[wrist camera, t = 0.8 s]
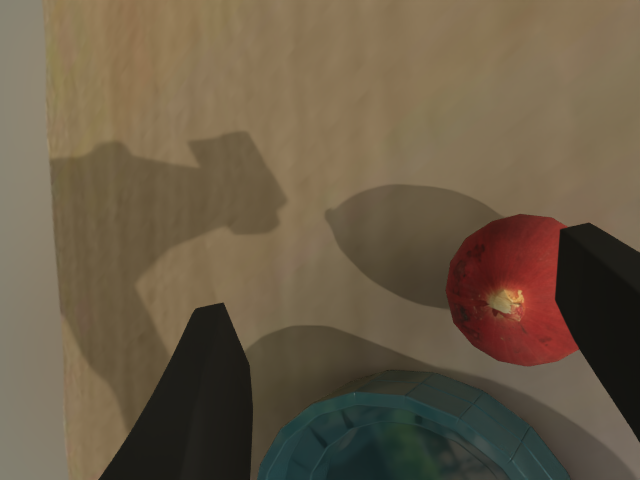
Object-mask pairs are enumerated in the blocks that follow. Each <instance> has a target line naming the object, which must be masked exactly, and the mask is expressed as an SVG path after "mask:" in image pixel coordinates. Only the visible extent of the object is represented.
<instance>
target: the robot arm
mask: <svg viewBox="0 0 640 480" xmlns="http://www.w3.org/2000/svg"><path fill="white" fill-rule="evenodd" d="M555 301H556V304H557V306H558V308H559V310H560V312H561V314H562V317H563V319H564V321H565V323H566V325H567V327H568V329H569V331H570V333H571V335H572V337H573V339H574V341H575V343H576V344H577V346H578V348H579V349H580V351H581V352H582V354H583V355H584V357H585V359H586V360H587V362H588V363H589V365H590V366H591V368H592V369H593V371H594V372H595V374H596V376H597V377H598V379H599V380H600V382H601V383H602V385H603V386H604V388H605V389H606V391H607V392H608V394H609V395H610V397H611V398H612V400H613V401H614V403H615V405H616V406H617V408H618V409H619V411H620V412H621V414H622V415H623V417H624V418H625V420H626V421H627V423H628V424H629V426H630V427H631V429H632V430H633V432H634V434H635V435H636V437H637V439H638V441H639V442H640V253H639V252H638V251H636V250H634V249H633V248H631V247H629V246H628V245H626V244H624V243H623V242H621V241H619V240H618V239H616V238H615V237H613V236H611V235H610V234H608V233H606V232H605V231H603V230H601V229H599V228H598V227H596V226H594V225H593V224H591V223H585V224H581V225H576V226H572V227H567V228H563V229H560V235H559V249H558V262H557V276H556V289H555ZM252 422H253V402H252V388H251V377H250V365H249V362H248V360H247V358H246V355H245V353H244V350H243V348H242V346H241V343H240V341H239V339H238V336H237V334H236V331H235V329H234V327H233V324H232V322H231V319H230V317H229V315H228V312H227V310H226V307H225V305H224V303H219V304H214V305H209V306H205V307H200V308H196V309H195V310H194V312H193V313H192V315H191V317H190V320H189V322H188V324H187V326H186V328H185V330H184V333H183V335H182V337H181V339H180V341H179V343H178V345H177V347H176V349H175V351H174V354H173V356H172V358H171V360H170V362H169V364H168V366H167V368H166V369H165V371H164V373H163V375H162V377H161V379H160V381H159V383H158V385H157V387H156V389H155V390H154V392H153V394H152V396H151V398H150V400H149V401H148V403H147V405H146V406H145V408H144V410H143V411H142V413H141V415H140V417H139V418H138V420H137V422H136V423H135V425H134V427H133V428H132V430H131V432H130V433H129V435H128V437H127V438H126V440H125V441H124V443H123V444H122V446H121V447H120V449H119V451H118V452H117V454H116V455H115V457H114V458H113V459H112V461H111V462H110V464H109V465H108V467H107V468H106V470H105V471H104V472H103V474H102V475H101V477H100V478H99V479H98V480H250V470H251V447H252Z"/></svg>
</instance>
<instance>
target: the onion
mask: <svg viewBox="0 0 640 480" xmlns="http://www.w3.org/2000/svg"><path fill="white" fill-rule="evenodd" d="M563 228H567V226H565V225H564V224H562V223H560V222H558V221H557V220H555V219H553V218H551V217H542V216H533V215H524V214H519V215H515V216H511V217H507V218H503V219H499V220H495V221H492V222H490V223H489V224H487V225H486V226H484V227H483V228H481V229H480V230H478V231H477V232H475V233H473V234H472V235H470V236H469V237H467V238H466V239H465V241H464V242H463V244H462V245H461V247H460V248H459V250H458V251H457V253H456V254H455V256H454V257H453V259H452V260H451V262H450V268H449V274H448V280H447V285H446V294H447V298H448V302H449V306H450V310H451V314H452V318H453V322H454V324H455V325H456V326H457V327H458V328H459V330H460V331H461V332H462V333H463V334H464V335H465V337H466V338H467V339H468V340H469V341H470V342H471V344H472V345H473V346H475V347H476V348H478V349H480V350H481V351H483V352H485V353H486V354H488V355H489V356H491V357H493V358H494V359H496V360H498V361H502V362H507V363H512V364H517V365H522V366H534V365H539V364H545V363H550V362H556V361H559V360H561V359H562V358H564V357H566V356H568V355H569V354H571V353H573V352H575V351H577V350H578V349H579V348H578V346H577V344H576V343H575V341H574V339H573V337H572V335H571V333H570V331H569V329H568V327H567V325H566V323H565V321H564V319H563V317H562V314H561V312H560V310H559V308H558V306H557V304H556V301H555V289H556V276H557V262H558V249H559V235H560V229H563Z"/></svg>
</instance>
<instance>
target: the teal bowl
mask: <svg viewBox="0 0 640 480" xmlns="http://www.w3.org/2000/svg"><path fill="white" fill-rule="evenodd" d="M257 480H571V479H570V476H569V475H568V473H567V471H566V470H565V469H564V467H563V466H562V465H561V464H560V462H559V461H558V460H557V458H556V457H555V456H554V455H553V453H552V452H551V451H550V450H549V448H548V447H547V446H546V444H545V443H544V442H543V441H542V439H541V438H540V437H539V436H538V434H537V433H536V432H535V430H534V429H533V428H532V427H531V426H529V424H527V423H526V422H525V421H523V420H522V419H521V418H519V417H518V416H517V415H515V414H514V413H513V412H511V411H510V410H509V409H507V408H506V407H505V406H503V405H502V404H501V403H499V402H498V401H497V400H495V399H494V398H493V397H491V396H490V395H488V394H487V393H486V392H484V391H482V390H480V389H477V388H475V387H472V386H469V385H467V384H464V383H462V382H459V381H456V380H454V379H451V378H448V377H446V376H443V375H441V374H438V373H433V372H418V371H400V370H390V371H389V370H387V371H384V372H380V373H377V374H374V375H371V376H367V377H364V378H361V379H357V380H354V381H351V382H349V383H347V384H345V385H344V386H342V387H340V388H338V389H337V390H335V391H333V392H332V393H330V394H328V395H326V396H325V397H323V398H321V399H319V400H318V401H316V402H314V403H313V404H311V405H310V406H308V407H307V408H306V409H305V410H304V411H302V412H301V413H300V414H299V415H297V416H296V417H295V418H294V419H292V420H291V421H290V422H289V423H287V424H286V425H285V426H284V427H282V428H281V429H280V431H279V432H278V434H277V436H276V438H275V439H274V441H273V443H272V445H271V446H270V448H269V450H268V452H267V454H266V455H265V457H264V459H263V461H262V462H261V464H260V467H259V471H258V477H257Z"/></svg>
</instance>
